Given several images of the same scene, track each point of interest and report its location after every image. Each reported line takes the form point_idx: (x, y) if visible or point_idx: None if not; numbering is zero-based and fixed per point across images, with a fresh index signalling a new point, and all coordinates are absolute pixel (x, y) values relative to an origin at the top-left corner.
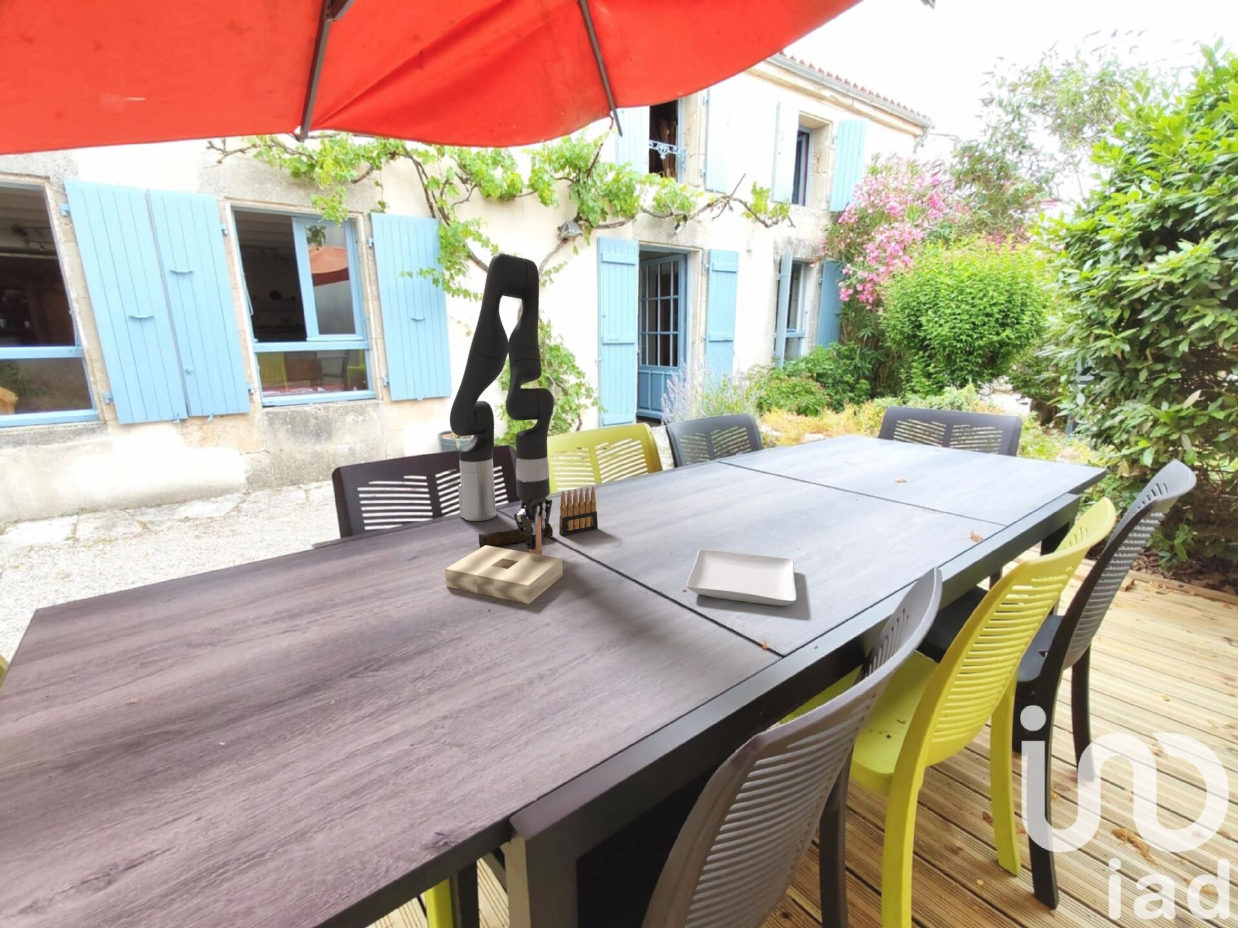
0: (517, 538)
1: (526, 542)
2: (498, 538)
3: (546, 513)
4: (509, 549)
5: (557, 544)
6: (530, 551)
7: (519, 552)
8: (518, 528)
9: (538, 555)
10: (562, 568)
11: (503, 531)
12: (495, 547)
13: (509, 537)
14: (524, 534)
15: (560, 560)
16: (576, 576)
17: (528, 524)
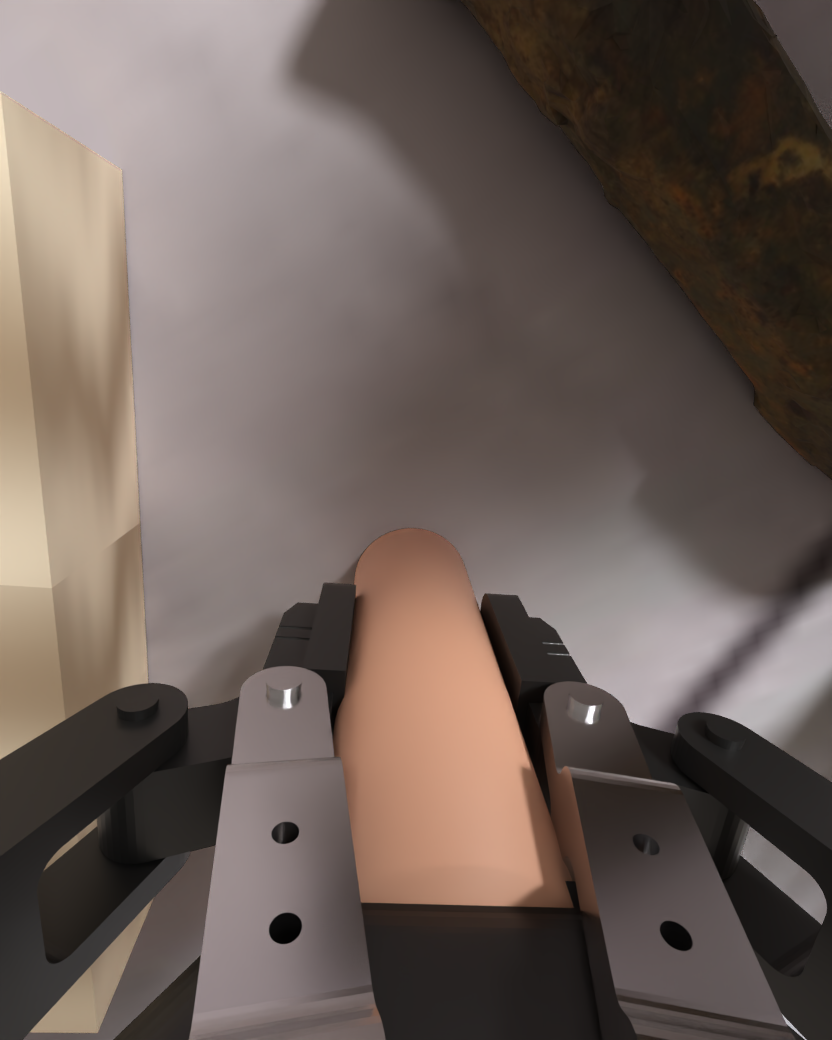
0: (683, 267)
1: (278, 633)
2: (544, 45)
3: (785, 989)
4: (41, 518)
5: (706, 637)
6: (356, 585)
7: (23, 664)
8: (2, 765)
9: (55, 855)
10: (136, 938)
11: (741, 10)
12: (9, 300)
13: (636, 180)
14: (756, 332)
15: (63, 1028)
16: (187, 952)
17: (19, 1017)
